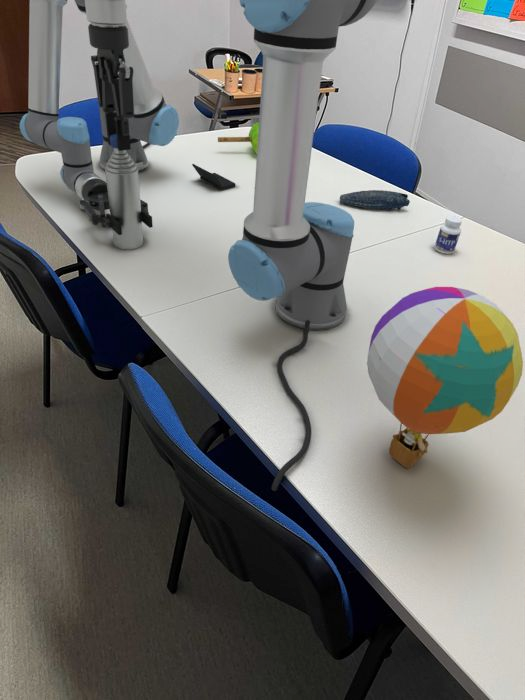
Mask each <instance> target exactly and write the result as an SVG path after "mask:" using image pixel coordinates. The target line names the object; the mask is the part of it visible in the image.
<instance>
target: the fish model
mask: <svg viewBox="0 0 525 700" xmlns="http://www.w3.org/2000/svg"><path fill="white" fill-rule="evenodd" d="M410 202H411V201H410V200H409V195H408V194H406V193H403V192H402V193H401V192H399V191H392V190H382V189H380V190H379V189H377V190H376V189H368V190H360V191H352V192H348V193H344V194H341V195H340V196H339V203H343V204H346V205H349V206H351V207H357V208H362V209H371V210H372V209H374V210H384V211H385V210H386V211H391V210H394V209H397V210H402V208H404V207H408V206H409V205H410Z"/></svg>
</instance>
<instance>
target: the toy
mask: <svg viewBox="0 0 525 700" xmlns="http://www.w3.org/2000/svg"><path fill="white" fill-rule="evenodd" d="M514 325H515V324H514V323H513V322H512V321H511V319H510V318H509V317H508V316H507V314H506V313H504V311H503V310H502V309H501V308H500V307H499V305H498V304H496V303H495V302H493V301H492V300H490V299H489V298H487V297H486V296H483V295H481V294H479V293H477V292H474V291H472V290H469V289H465V288H461V287H460V288H459V287H455V286H433V287H429V288H425V289H421V290H418V291H414V292H412V293H409V294H407V295H406V296H404V297H401V299H400V300H398V301H397V302H396V303H395V304H394V305H393V306H392V307H391V308H389V309H388V310H387V311H386V312H385V313H384V314H382V316H381V317H380V318H379V320H378V321H377V323H376V324H375V326H374V329H373V331H372V334H371V335H370V343H369V346H368V353H367V361H366V367H367V373H368V377H369V379H370V381H371V384H372V386H373V389H374V391H375V393H376V396H377V398H378V401H380V403H381V404H382V405H383V406H384V407H385V408H386V410H388V412H389V413H391V415H392V416H393V417H394V418H395V419H397V421H398V422H399V423H400V427H399V431H398V434H397V433H396V434H395V433H394V434H393V435H392V439H391V441H390V444H389V450H388V454H389V456H390V457H391V458H393V459H394V460H395V461H396V462H398V464H400V465H401V466H403V467H404V468H406V469H410V468H411V467H412V466H413V465H415V464H416V463H417V462H419V461H420V460H421V459H422V458H423V456H425V454H427V453H428V448H429V442H428V441H427V438H428V437H429V435H444V434H445V435H447V434H457V433H459V434H460V433H465V432H467V431H468V432H469V431H470V430H472V429H475V428H477V427H479V426H480V425H483V424H485V423H488V422H489V421H492V420H493V419H495V418H496V417H497V416H498V415H499V414H501V413H502V412H503V410H504V409H505V407H506V406H507V405H508V403H509V402H510V401H511V398H512V397H513V395H514V393H515V391H516V390H517V388H518V386H519V383H520V382H521V378H522V375H523V367H524V360H523V354H522V348H521V344H520V343H521V342H520V339H519V333H518V331H517V329H516V328H515V326H514ZM402 425H403V426H404V427H405V429H403V430H402V427H403V426H402ZM422 434H423V435H426V436H425V438H423V436H422Z"/></svg>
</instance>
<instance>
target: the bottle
mask: <svg viewBox="0 0 525 700" xmlns="http://www.w3.org/2000/svg"><path fill="white" fill-rule="evenodd" d="M104 173H105V180H106V181H105V182H106V183H107V190H108V199H109V207H110V209H109V214H110V215H111V216H112V217H114V218H115V219H116V220H117V221H118V222H119V223H121V229H122V235H118V234H117V233H116V232H115V231H114V230H113V229H112V228H111V233H112V240H113V245H114V246H115V247H116V248H118V249H121V250H135V249H138V248H141V247H142V246H143V245H144V231H143V222H142V216H141V203H140V199H141V192H140V179H139V172H138V168H137V166H136V163H135V162H134V161H133V159H131V156H130V155H128V152H126V150H123V151H119V150H118V149H116V148H114V152H112V155H111V156H110V159H109V160H108V162H107V163H106V167H105V170H104Z"/></svg>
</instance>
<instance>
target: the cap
mask: <svg viewBox="0 0 525 700" xmlns="http://www.w3.org/2000/svg"><path fill="white" fill-rule="evenodd" d="M110 146H111V147H112V148H116V149H118V145H117V134H113V135H110Z"/></svg>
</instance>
